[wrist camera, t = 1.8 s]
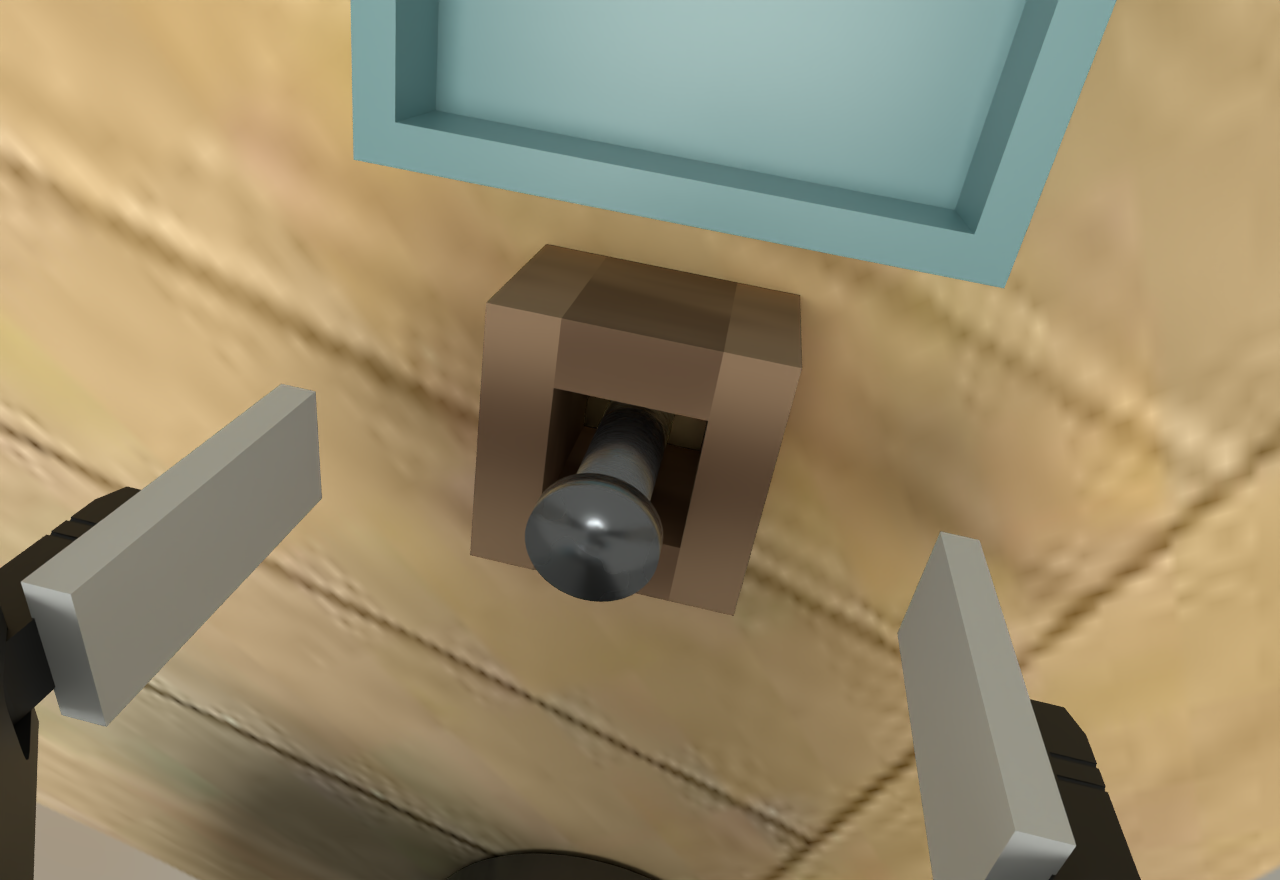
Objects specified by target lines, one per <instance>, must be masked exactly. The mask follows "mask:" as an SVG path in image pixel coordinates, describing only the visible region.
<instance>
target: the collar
mask: <svg viewBox="0 0 1280 880" xmlns="http://www.w3.org/2000/svg"><path fill="white" fill-rule="evenodd" d="M801 370H802V350H801V315H800V295H795V294H790V293H785V292H780V291H775V290H770V289H765V288H760V287H755V286H750V285H745V284H740V283H735V282H731V281H726V280H721V279H716V278H711V277H706V276H701V275H696V274H691V273H686V272H681V271H676V270H671V269H666V268H661V267H656V266H651V265H646V264H641V263H636V262H631V261H626V260H621V259H617V258H612V257H607V256H602V255H597V254H592V253H587V252H582V251H577V250H572V249H567V248H562V247H557V246H552V245H547V244H546V245H545V246H544V247H543V248H542V249H541V250H540V251H539V252H538V253H537V254H536V255H535V256H534V257H533V258H532V259H531V260H530V261H529V262H528V263H527V264H526V265H525V266H523V267H522V268H521V269H520V270H519V271H518V272H517V273H516V274H515V275H514V276H513V277H512V278H511V279H510V280H509V281H508V282H507V283H506V284H505V285H504V286H503V287H502V288H501V289H500V290H499V291H498V292H497V293H496V294H495V295H494V296H493V297H492V298H491V299H490V300H489V301H488V302H487V303H486V316H485V331H484V347H483V363H482V379H481V394H480V410H479V426H478V441H477V457H476V473H475V489H474V504H473V520H472V536H471V551H470V555H472V556H476V557H481V558H485V559H489V560H494V561H498V562H502V563H507V564H511V565H515V566H520V567H524V568H529V569H533V570H536V568H535V567H534V565H533V564H532V562H531V560H530V558H529V555H528V553H527V549H526V545H525V529H526V524H527V522H528V519H529V517H530V515H531V513H532V511H533V509H534V507H535V505H536V503H537V501H538V499H539V498H540V496H541V495H542V493H543V492H544V491H545V490H546V489H547V488H548V487H549V486H550V485H552V484H553V483H555V482H556V481H558V480H560V479H562V478H564V477H567V476H570V475H574V474H576V473H577V471H578V469H579V467H580V465H581V462H582V460H583V458H584V456H585V454H586V452H587V449H588V447H589V445H590V443H591V441H592V439H593V436H594V434H595V432H596V430H597V429H595V428H590V427H586V426H584V420H585V413H586V406H587V398H588V395H589V396H594V397H599V398H603V399H608V400H613V401H617V402H622V403H627V404H631V405H636V406H641V407H645V408H650V409H655V410H659V411H664V412H669V413H673V414H678V415H683V416H687V417H692V418H697V419H701V420H706V421H707V422H706V427H705V431H704V436H703V441H702V445H701V450H700V451H696V450H692V449H687V448H682V447H678V446H673V445H669V444H666V448H665V451H664V455H663V458H662V462H661V465H660V469H659V472H658V476H657V479H656V483H655V486H654V490H653V493H652V496H651V500H650V502H651V503H652V505H653V506H654V508H655V509H656V511H657V513H658V515H659V517H660V520H661V523H662V528H663V544H662V549H661V553H660V557H659V561H658V565H657V568H656V571H655V573H654V575H653V576H652V578H651V579H650V581H649V582H648V583H647V584H646V585H645V586H644V587H643V588H642V589H640V590H639V591H638V592H636V593H637V594H641V595H646V596H650V597H654V598H659V599H663V600H667V601H672V602H676V603H680V604H685V605H689V606H693V607H698V608H702V609H706V610H711V611H715V612H719V613H724V614H728V615H732V616H734V613H735V609H736V605H737V602H738V598H739V595H740V591H741V587H742V584H743V580H744V576H745V573H746V569H747V566H748V562H749V558H750V555H751V551H752V547H753V544H754V540H755V537H756V533H757V529H758V526H759V522H760V519H761V515H762V511H763V508H764V504H765V500H766V497H767V493H768V490H769V486H770V482H771V479H772V475H773V472H774V468H775V464H776V461H777V457H778V453H779V450H780V446H781V443H782V439H783V435H784V432H785V428H786V425H787V421H788V417H789V414H790V410H791V406H792V403H793V399H794V396H795V392H796V388H797V385H798V381H799V378H800V374H801Z"/></svg>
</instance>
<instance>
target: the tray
mask: <svg viewBox="0 0 1280 880" xmlns="http://www.w3.org/2000/svg"><path fill="white" fill-rule="evenodd" d="M1115 3H1116V0H351V44H352V97H353V149H354V160H358V161H364V162H369V163H374V164H379V165H384V166H389V167H394V168H399V169H404V170H409V171H414V172H419V173H424V174H429V175H434V176H439V177H444V178H449V179H455V180H460V181H465V182H470V183H475V184H480V185H485V186H490V187H495V188H500V189H505V190H510V191H515V192H520V193H525V194H530V195H535V196H540V197H546V198H551V199H556V200H561V201H566V202H571V203H576V204H581V205H586V206H591V207H596V208H601V209H606V210H611V211H616V212H621V213H626V214H631V215H637V216H642V217H647V218H652V219H657V220H662V221H667V222H672V223H677V224H682V225H687V226H692V227H697V228H702V229H707V230H712V231H717V232H722V233H728V234H733V235H738V236H743V237H748V238H753V239H758V240H763V241H768V242H773V243H778V244H783V245H788V246H793V247H798V248H803V249H808V250H813V251H819V252H824V253H829V254H834V255H839V256H844V257H849V258H854V259H859V260H864V261H869V262H874V263H879V264H884V265H889V266H894V267H899V268H904V269H910V270H915V271H920V272H925V273H930V274H935V275H940V276H945V277H950V278H955V279H960V280H965V281H970V282H975V283H980V284H985V285H990V286H995V287H1001V288H1004V287H1005V285H1006V282H1007V280H1008V277H1009V274H1010V272H1011V269H1012V267H1013V264H1014V262H1015V259H1016V257H1017V254H1018V251H1019V249H1020V246H1021V244H1022V241H1023V239H1024V236H1025V233H1026V231H1027V228H1028V226H1029V223H1030V221H1031V218H1032V216H1033V213H1034V210H1035V208H1036V205H1037V203H1038V200H1039V198H1040V195H1041V192H1042V190H1043V187H1044V185H1045V182H1046V180H1047V177H1048V175H1049V172H1050V169H1051V167H1052V164H1053V162H1054V159H1055V157H1056V154H1057V151H1058V149H1059V146H1060V144H1061V141H1062V139H1063V136H1064V133H1065V131H1066V128H1067V126H1068V123H1069V121H1070V118H1071V116H1072V113H1073V110H1074V108H1075V105H1076V103H1077V100H1078V98H1079V95H1080V92H1081V90H1082V87H1083V85H1084V82H1085V80H1086V77H1087V75H1088V72H1089V69H1090V67H1091V64H1092V62H1093V59H1094V57H1095V54H1096V51H1097V49H1098V46H1099V44H1100V41H1101V39H1102V36H1103V34H1104V31H1105V28H1106V26H1107V23H1108V21H1109V18H1110V16H1111V13H1112V10H1113V8H1114V5H1115Z"/></svg>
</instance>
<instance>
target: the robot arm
mask: <svg viewBox="0 0 1280 880" xmlns="http://www.w3.org/2000/svg"><path fill="white" fill-rule="evenodd" d="M321 499H322V493H321V476H320V459H319V442H318V425H317V408H316V391H311V390H307V389H302V388H298V387H293V386H289V385H284V384H280V385H279V386H278V387H276V388H275V389H274V390H273V391H271V392H270V393H269V394H267V395H266V396H265V397H263V398H262V399H261V400H259V401H258V402H257V403H255V404H254V405H253V406H251V407H250V408H249V409H247V410H246V411H245V412H244V413H242V414H241V415H240V416H238V417H237V418H236V419H234V420H233V421H232V422H230V423H229V424H228V425H226V426H225V427H224V428H222V429H221V430H220V431H219V432H217V433H216V434H215V435H213V436H212V437H211V438H209V439H208V440H207V441H205V442H204V443H203V444H201V445H200V446H199V447H197V448H196V449H195V450H194V451H192V452H191V453H190V454H188V455H187V456H186V457H184V458H183V459H182V460H180V461H179V462H178V463H176V464H175V465H174V466H172V467H171V468H170V469H169V470H167V471H166V472H165V473H163V474H162V475H161V476H159V477H158V478H157V479H155V480H154V481H153V482H151V483H150V484H149V485H147V486H146V487H145V488H143V489H142V490H139V489H135V488H131V487H125V488H122V489H120V490H117V491H115V492H112V493H110V494H108V495H105V496H103V497H100V498H98V499H95V500H94V501H92V502H91V503H90V504H88V505H87V506H86V507H84V508H83V509H81V510H80V511H79V512H77V513H76V514H74V515H73V516H72V517H71V520H70V521H67V520H66V521H65V522H63V523H62V524H61V525H59V526H58V527H56V528H55V529H54V530H52V533H51V535H45V536H44V537H43V538H41V539H40V540H39V541H37V542H36V543H34V544H33V545H32V546H30V547H29V548H27V549H26V550H25V551H23V552H22V553H21V554H19V555H18V556H16V557H15V558H14V559H12V560H11V561H9V562H8V563H7V564H5V565H4V566H3V567H1V568H0V880H33V878H34V848H35V847H34V846H35V818H36V788H37V758H38V728H39V721H38V718H37V714H36V711H35V708H34V707H35V706H36V705H37V704H38V703H39V702H40V701H41V700H42V699H43V698H45V697H46V696H47V695H48V694H49V693H50V692H51V691H52V690H53V689H54V692H55V695H56V698H57V701H58V705H59V708H60V711H61V714H62V715H64V716H68V717H71V718H75V719H79V720H83V721H87V722H90V723H94V724H98V725H102V726H106V727H107V726H108V725H109V723H110V722H111V721H112V720H113V719H114V718H115V717H116V716H117V715H118V714H119V713H120V712H121V711H122V710H123V709H124V708H125V707H126V705H127V704H128V703H129V702H130V701H131V700H132V699H133V698H134V697H135V696H136V695H137V694H138V693H139V692H140V691H141V690H142V688H143V687H144V686H145V685H146V684H147V683H148V682H149V681H150V680H151V679H152V678H153V677H154V676H155V675H156V674H157V673H158V672H159V670H160V669H161V668H162V667H163V666H164V665H165V664H166V663H167V662H168V661H169V660H170V659H171V658H172V657H173V656H174V655H175V653H176V652H177V651H178V650H179V649H180V648H181V647H182V646H183V645H184V644H185V643H186V642H187V641H188V640H189V639H190V638H191V637H192V635H193V634H194V633H195V632H196V631H197V630H198V629H199V628H200V627H201V626H202V625H203V624H204V623H205V622H206V621H207V620H208V618H209V617H210V616H211V615H212V614H213V613H214V612H215V611H216V610H217V609H218V608H219V607H220V606H221V605H222V604H223V603H224V602H225V600H226V599H227V598H228V597H229V596H230V595H231V594H232V593H233V592H234V591H235V590H236V589H237V588H238V587H239V586H240V585H241V583H242V582H243V581H244V580H245V579H246V578H247V577H248V576H249V575H250V574H251V573H252V572H253V571H254V570H255V569H256V568H257V566H258V565H259V564H260V563H261V562H262V561H263V560H264V559H265V558H266V557H267V556H268V555H269V554H270V553H271V552H272V551H273V550H274V548H275V547H276V546H277V545H278V544H279V543H280V542H281V541H282V540H283V539H284V538H285V537H286V536H287V535H288V534H289V533H290V531H291V530H292V529H293V528H294V527H295V526H296V525H297V524H298V523H299V522H300V521H301V520H302V519H303V518H304V517H305V516H306V515H307V513H308V512H309V511H310V510H311V509H312V508H313V507H314V506H315V505H316V504H317V503H318V502H319V501H320V500H321ZM898 640H899V647H900V654H901V661H902V668H903V675H904V681H905V688H906V695H907V702H908V709H909V716H910V723H911V730H912V737H913V744H914V750H915V757H916V764H917V771H918V778H919V785H920V792H921V799H922V806H923V813H924V820H925V826H926V833H927V840H928V847H929V854H930V861H931V868H932V875H933V880H1141V879H1140V877H1139V874H1138V871H1137V869H1136V866H1135V864H1134V861H1133V858H1132V856H1131V853H1130V850H1129V848H1128V845H1127V842H1126V840H1125V837H1124V834H1123V832H1122V829H1121V826H1120V824H1119V821H1118V818H1117V816H1116V813H1115V810H1114V808H1113V805H1112V803H1111V800H1110V797H1109V795H1108V792H1105V784H1104V781H1103V779H1102V776H1101V773H1100V771H1099V769H1097V768H1096V764H1097V763H1096V760H1095V757H1094V755H1093V752H1092V749H1091V747H1090V744H1089V742H1088V739H1087V736H1086V734H1085V733H1084V732H1083V731H1082V729H1081V728H1080V727H1079V726H1078V724H1077V723H1076V722H1075V721H1074V719H1073V718H1072V717H1071V715H1070V714H1069V713H1068V712H1067V710H1066V709H1065V708H1064V707H1060V706H1056V705H1052V704H1047V703H1043V702H1039V701H1035V700H1031V699H1030V698H1029V695H1028V692H1027V689H1026V686H1025V682H1024V679H1023V676H1022V673H1021V670H1020V667H1019V664H1018V660H1017V657H1016V654H1015V651H1014V648H1013V645H1012V641H1011V638H1010V635H1009V632H1008V629H1007V626H1006V623H1005V619H1004V616H1003V613H1002V610H1001V607H1000V604H999V600H998V597H997V594H996V591H995V588H994V585H993V582H992V578H991V575H990V572H989V569H988V566H987V563H986V559H985V556H984V553H983V550H982V547H981V544H980V541H979V540H977V539H972V538H968V537H963V536H959V535H954V534H950V533H945V532H941V531H940V534H939V536H938V539H937V541H936V543H935V546H934V548H933V550H932V553H931V555H930V557H929V560H928V562H927V565H926V567H925V569H924V572H923V574H922V576H921V579H920V581H919V583H918V586H917V588H916V591H915V593H914V595H913V598H912V600H911V602H910V605H909V607H908V610H907V612H906V614H905V617H904V619H903V621H902V624H901V626H900V628H899V631H898ZM446 880H651V879H649V878H646V877H644V876H642V875H639V874H637V873H634V872H632V871H629V870H626V869H623V868H620V867H617V866H614V865H610V864H607V863H603V862H599V861H595V860H590V859H585V858H580V857H574V856H566V855H556V854H516V855H507V856H501V857H496V858H491V859H487V860H484V861H480V862H477V863H475V864H472V865H470V866H467V867H465V868H463V869H461V870H459V871H458V872H456V873H454V874H453V875H451V876H450V877H449V878H448V879H446Z"/></svg>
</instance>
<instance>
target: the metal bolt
mask: <svg viewBox="0 0 1280 880" xmlns="http://www.w3.org/2000/svg"><path fill="white" fill-rule="evenodd" d="M674 416H675V414H673V413H669V412H664V411H659V410H655V409H650V408H645V407H641V406H636V405H631V404H627V403H622V402H617V401H613V400H610V402H609V404H608V406H607V408H606V410H605V413H604V415H603V417H602V419H601V421H600V423H599V426H598V428H597V430H596V432H595V434H594V436H593V439H592V441H591V443H590V445H589V447H588V449H587V452H586V454H585V456H584V458H583V460H582V462H581V465H580V467H579V469H578V471H577V473H576V474H574V475H570V476H567V477H564V478H562V479H560V480H558V481H556V482H555V483H553V484H552V485H550V486H549V487H548V488H547V489H546V490H545V491H544V492H543V493H542V495H541V496H540V498H539V499H538V501H537V503H536V505H535V507H534V509H533V511H532V513H531V515H530V517H529V519H528V522H527V524H526V529H525V545H526V549H527V553H528V555H529V558H530V560H531V562H532V564H533V565H534V567H535V568H536V570H537V571H538V572H539V574H540V575H541V576H542V577H543V578H544V579H545V580H546V581H548V582H549V583H550V584H551V585H552V586H554V587H556V588H557V589H559V590H560V591H562V592H564V593H566V594H568V595H571V596H573V597H576V598H580V599H583V600H589V601H599V602H603V601H614V600H619V599H623V598H626V597H628V596H630V595H633V594H634V593H636V592H638V591H639V590H640V589H642V588H643V587H644V586H645V585H646V584H647V583H648V582H649V581H650V579H651V578H652V576H653V575H654V573H655V571H656V568H657V565H658V561H659V557H660V553H661V549H662V544H663V528H662V523H661V520H660V517H659V515H658V513H657V511H656V509H655V508H654V506H653V505H652V503H651V502H650V500H651V496H652V493H653V490H654V486H655V483H656V479H657V476H658V472H659V469H660V465H661V462H662V458H663V455H664V451H665V448H666V444H667V441H668V437H669V434H670V430H671V427H672V423H673V420H674Z"/></svg>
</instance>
